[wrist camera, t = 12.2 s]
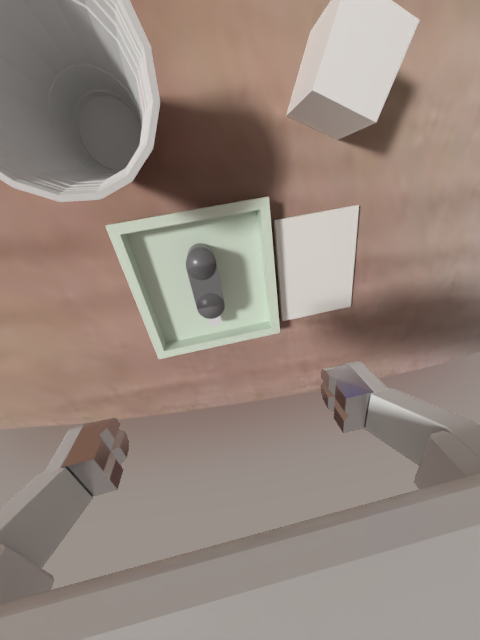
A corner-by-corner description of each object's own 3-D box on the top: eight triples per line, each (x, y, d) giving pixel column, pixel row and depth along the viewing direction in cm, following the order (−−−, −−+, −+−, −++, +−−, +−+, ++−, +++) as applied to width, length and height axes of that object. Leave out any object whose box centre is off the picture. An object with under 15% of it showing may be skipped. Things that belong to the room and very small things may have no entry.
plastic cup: (193, 184, 24) (190, 171, 13) (91, 215, 23) (4, 227, 13) (146, 32, 18) (76, -193, 8) (14, 70, 18) (-237, -108, 8)
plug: (184, 246, 26) (182, 253, 22) (211, 241, 26) (213, 247, 22) (203, 318, 30) (203, 334, 26) (225, 314, 30) (229, 329, 27)
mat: (356, 204, 27) (359, 205, 27) (348, 304, 33) (350, 306, 33) (273, 220, 26) (275, 220, 26) (281, 319, 33) (282, 321, 32)
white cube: (365, 64, 22) (420, 19, 16) (337, 140, 24) (376, 122, 19) (309, 31, 20) (350, -30, 15) (285, 116, 22) (312, 90, 17)
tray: (262, 197, 25) (268, 196, 23) (274, 323, 33) (280, 332, 30) (113, 223, 24) (105, 225, 22) (161, 348, 32) (158, 359, 29)
